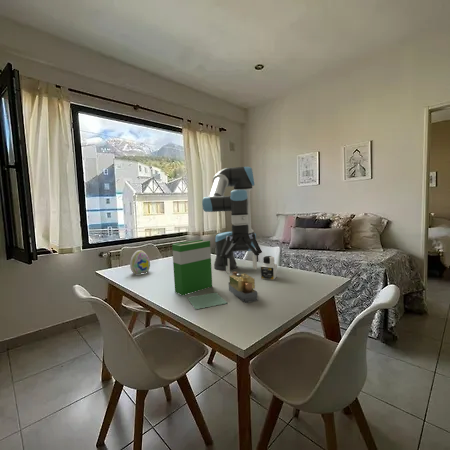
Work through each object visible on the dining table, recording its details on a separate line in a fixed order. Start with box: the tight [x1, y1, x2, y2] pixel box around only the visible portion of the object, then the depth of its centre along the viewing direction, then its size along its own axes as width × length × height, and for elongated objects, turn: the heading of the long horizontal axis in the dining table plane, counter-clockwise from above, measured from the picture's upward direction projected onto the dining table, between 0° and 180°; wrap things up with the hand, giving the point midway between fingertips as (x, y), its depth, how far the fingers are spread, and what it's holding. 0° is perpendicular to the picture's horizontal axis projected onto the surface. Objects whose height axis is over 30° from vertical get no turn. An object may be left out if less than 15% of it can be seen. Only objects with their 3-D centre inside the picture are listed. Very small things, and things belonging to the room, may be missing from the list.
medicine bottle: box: [260, 255, 278, 281], centre depth 142 cm, size 7×7×12 cm
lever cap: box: [229, 272, 256, 291], centre depth 117 cm, size 10×8×5 cm
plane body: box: [228, 271, 258, 304], centre depth 117 cm, size 18×6×9 cm, turn 22°
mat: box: [187, 292, 228, 310], centre depth 113 cm, size 14×14×1 cm
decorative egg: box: [129, 249, 151, 275], centre depth 163 cm, size 12×12×15 cm
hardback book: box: [171, 239, 213, 296], centre depth 128 cm, size 18×7×24 cm, turn 130°
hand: (241, 270), depth 116 cm, fingers open, 13 cm apart
